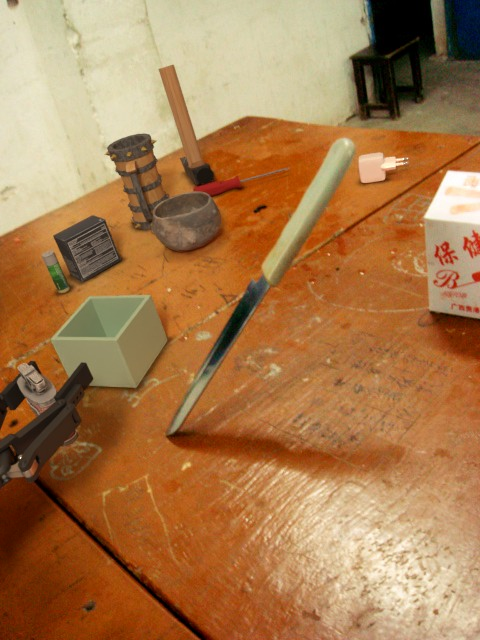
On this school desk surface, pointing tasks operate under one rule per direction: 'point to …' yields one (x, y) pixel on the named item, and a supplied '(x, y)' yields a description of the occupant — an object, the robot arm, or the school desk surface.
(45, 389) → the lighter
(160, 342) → the trash bin
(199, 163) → the hammer
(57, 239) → the small box
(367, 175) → the power adapter
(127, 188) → the mug
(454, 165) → the school desk surface
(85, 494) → the school desk surface
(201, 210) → the bowl
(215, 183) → the screwdriver
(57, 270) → the battery
